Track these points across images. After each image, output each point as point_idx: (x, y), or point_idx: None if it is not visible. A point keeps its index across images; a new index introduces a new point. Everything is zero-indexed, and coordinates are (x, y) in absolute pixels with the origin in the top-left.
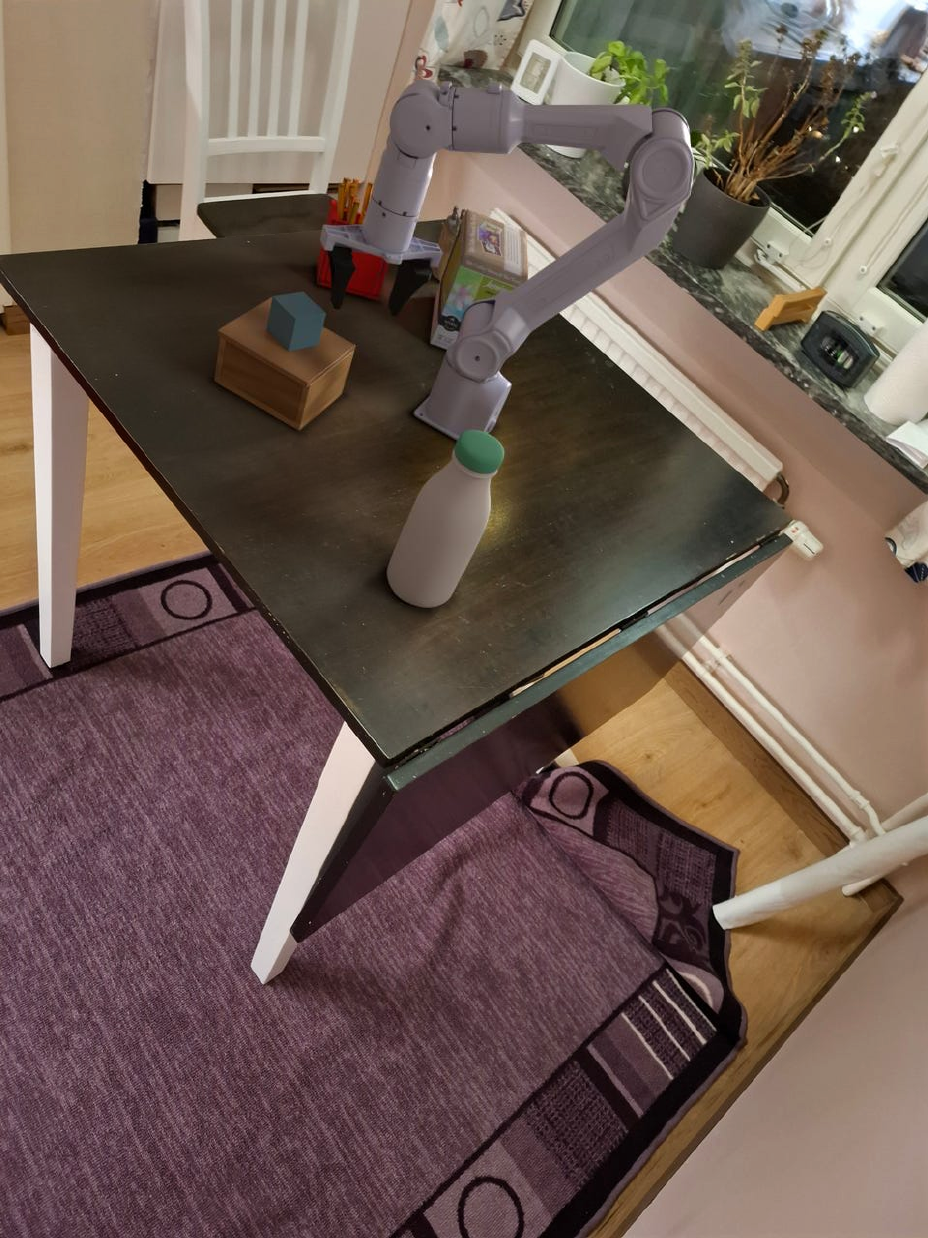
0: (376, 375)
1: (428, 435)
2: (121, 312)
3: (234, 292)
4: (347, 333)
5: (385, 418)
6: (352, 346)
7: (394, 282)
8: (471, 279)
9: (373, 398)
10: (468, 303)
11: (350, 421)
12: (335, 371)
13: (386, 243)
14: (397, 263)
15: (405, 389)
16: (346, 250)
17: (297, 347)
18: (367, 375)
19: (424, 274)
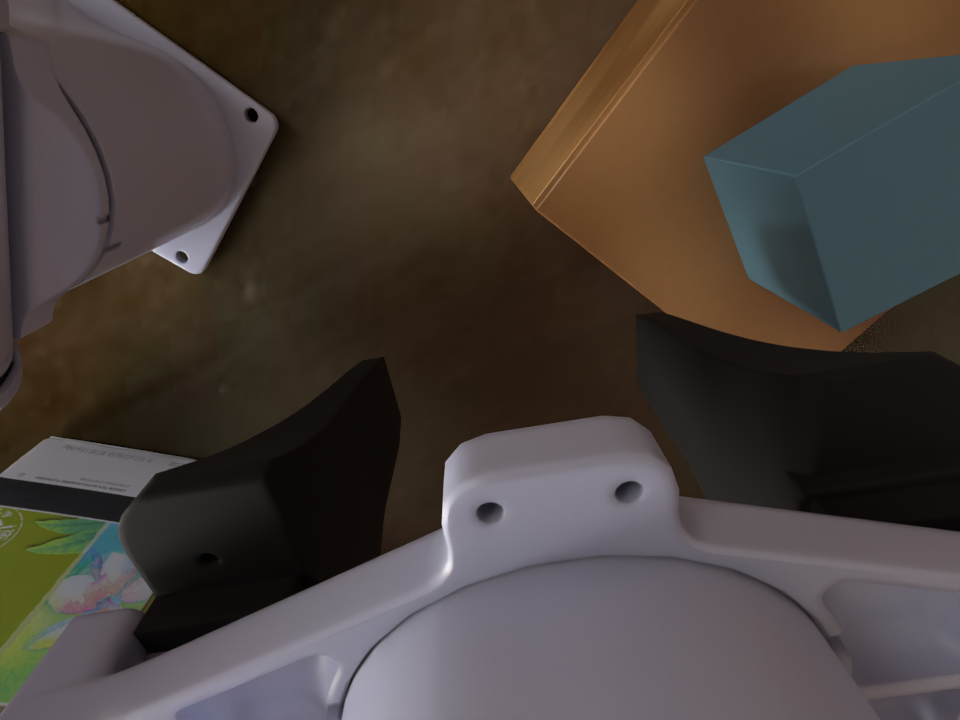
0: (392, 297)
1: (222, 16)
2: None
3: (704, 497)
4: (458, 443)
5: (377, 84)
6: (550, 196)
7: (385, 504)
8: (33, 666)
9: (410, 184)
10: (75, 578)
11: (499, 35)
12: (613, 83)
13: (716, 655)
14: (502, 432)
15: (305, 256)
16: (888, 517)
17: (817, 90)
18: (419, 290)
19: (180, 494)
